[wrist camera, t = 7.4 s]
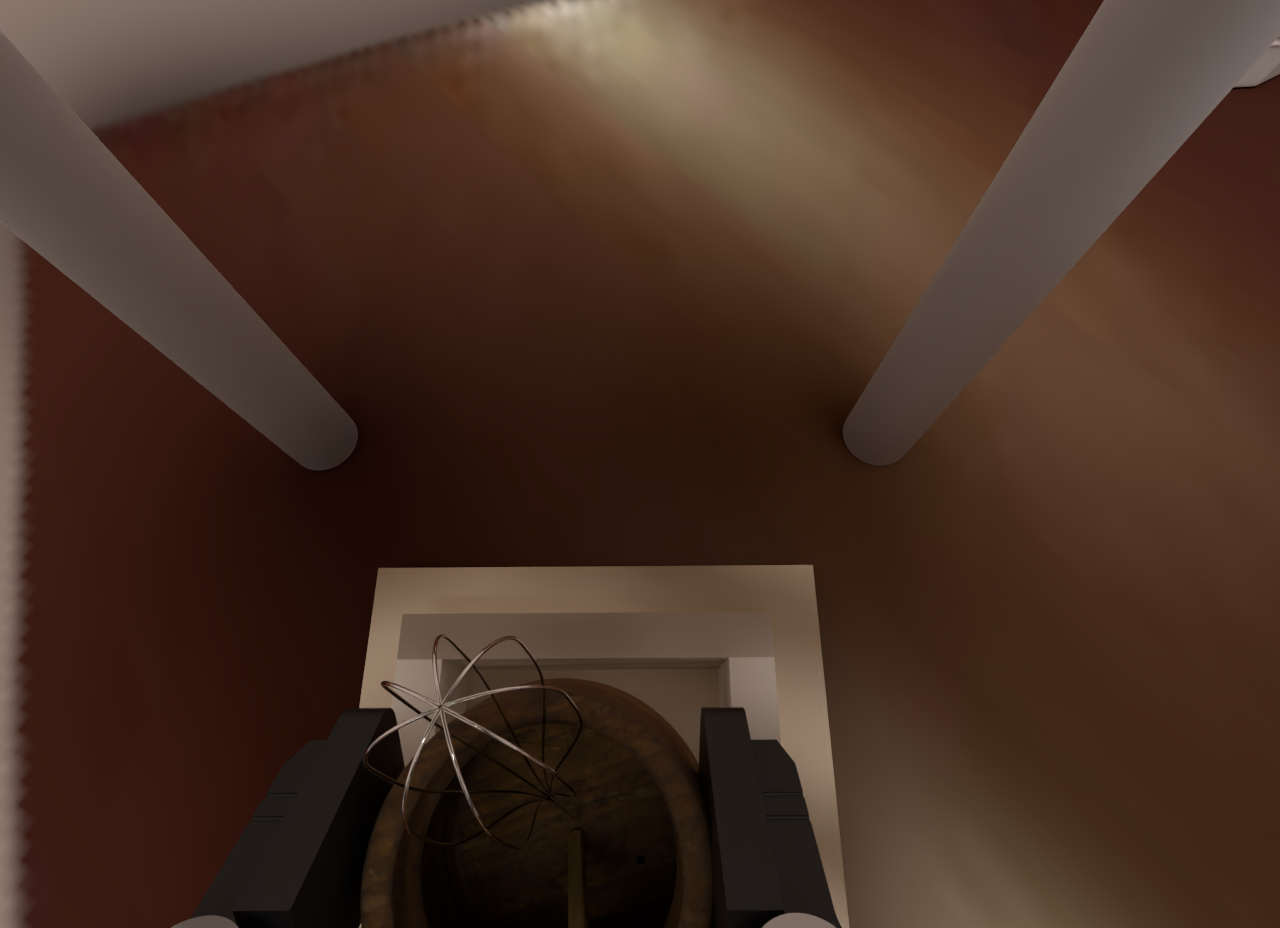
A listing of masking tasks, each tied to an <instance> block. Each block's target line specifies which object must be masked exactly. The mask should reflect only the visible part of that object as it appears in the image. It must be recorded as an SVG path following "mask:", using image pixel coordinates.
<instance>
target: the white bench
mask: <svg viewBox="0 0 1280 928" xmlns="http://www.w3.org/2000/svg"><path fill="white" fill-rule="evenodd" d="M1279 36H1280V0H1104V1H1103V3H1102V4H1101V6H1100V8H1099V9H1098V11H1097V13H1096V14H1095V16H1094V17H1093V19H1092V21H1091V22H1090V24H1089V26H1088V27H1087V29H1086V30H1085V32H1084V34H1083V35H1082V37H1081V39H1080V40H1079V42H1078V43H1077V45H1076V47H1075V48H1074V50H1073V52H1072V53H1071V55H1070V56H1069V58H1068V60H1067V61H1066V63H1065V65H1064V66H1063V68H1062V69H1061V71H1060V73H1059V74H1058V76H1057V78H1056V79H1055V81H1054V82H1053V84H1052V86H1051V87H1050V89H1049V91H1048V92H1047V94H1046V95H1045V97H1044V99H1043V100H1042V102H1041V104H1040V105H1039V107H1038V108H1037V110H1036V112H1035V113H1034V115H1033V117H1032V118H1031V120H1030V121H1029V123H1028V125H1027V126H1026V128H1025V130H1024V131H1023V133H1022V134H1021V136H1020V138H1019V139H1018V141H1017V143H1016V144H1015V146H1014V147H1013V149H1012V151H1011V152H1010V154H1009V156H1008V157H1007V159H1006V160H1005V162H1004V164H1003V165H1002V167H1001V169H1000V170H999V172H998V173H997V175H996V177H995V178H994V180H993V182H992V183H991V185H990V186H989V188H988V190H987V191H986V193H985V195H984V196H983V198H982V199H981V201H980V203H979V204H978V206H977V208H976V209H975V211H974V212H973V214H972V216H971V217H970V219H969V221H968V222H967V224H966V225H965V227H964V229H963V230H962V232H961V234H960V235H959V237H958V238H957V240H956V242H955V243H954V245H953V247H952V248H951V250H950V251H949V253H948V255H947V256H946V258H945V260H944V261H943V263H942V264H941V266H940V268H939V269H938V271H937V273H936V274H935V276H934V277H933V279H932V281H931V282H930V284H929V286H928V287H927V289H926V290H925V292H924V294H923V295H922V297H921V299H920V300H919V302H918V303H917V305H916V307H915V308H914V310H913V312H912V313H911V315H910V316H909V318H908V320H907V321H906V323H905V325H904V326H903V328H902V329H901V331H900V333H899V334H898V336H897V338H896V339H895V341H894V342H893V344H892V346H891V347H890V349H889V351H888V352H887V354H886V355H885V357H884V359H883V360H882V362H881V364H880V365H879V367H878V368H877V370H876V372H875V373H874V375H873V376H872V378H871V380H870V381H869V383H868V385H867V386H866V388H865V389H864V391H863V393H862V394H861V396H860V398H859V399H858V401H857V402H856V404H855V406H854V407H853V409H852V411H851V412H850V414H849V415H848V417H847V419H846V420H845V423H844V426H843V438H844V442H845V444H846V446H847V448H848V449H849V451H850V452H851V453H852V454H853V455H854V456H855V457H856V458H857V459H859V460H861V461H862V462H864V463H867V464H870V465H874V466H886V465H890V464H893V463H895V462H897V461H899V460H900V459H901V458H902V457H903V456H904V455H905V454H906V453H907V452H908V451H909V450H910V448H911V447H912V446H913V445H914V444H915V443H916V442H917V441H918V439H919V438H920V437H921V436H922V435H923V434H924V433H925V432H926V431H927V429H928V428H929V427H930V426H931V425H932V424H933V423H934V422H935V420H936V419H937V418H938V417H939V416H940V415H941V414H942V413H943V412H944V410H945V409H946V408H947V407H948V406H949V405H950V404H951V403H952V401H953V400H954V399H955V398H956V397H957V396H958V395H959V394H960V393H961V391H962V390H963V389H964V388H965V387H966V386H967V385H968V384H969V382H970V381H971V380H972V379H973V378H974V377H975V376H976V375H977V373H978V372H979V371H980V370H981V369H982V368H983V367H984V366H985V365H986V363H987V362H988V361H989V360H990V359H991V358H992V357H993V356H994V354H995V353H996V352H997V351H998V350H999V349H1000V348H1001V347H1002V346H1003V344H1004V343H1005V342H1006V341H1007V340H1008V339H1009V338H1010V337H1011V335H1012V334H1013V333H1014V332H1015V331H1016V330H1017V329H1018V328H1019V326H1020V325H1021V324H1022V323H1023V322H1024V321H1025V320H1026V319H1027V318H1028V316H1029V315H1030V314H1031V313H1032V312H1033V311H1034V310H1035V309H1036V307H1037V306H1038V305H1039V304H1040V303H1041V302H1042V301H1043V300H1044V299H1045V297H1046V296H1047V295H1048V294H1049V293H1050V292H1051V291H1052V290H1053V288H1054V287H1055V286H1056V285H1057V284H1058V283H1059V282H1060V281H1061V280H1062V278H1063V277H1064V276H1065V275H1066V274H1067V273H1068V272H1069V271H1070V269H1071V268H1072V267H1073V266H1074V265H1075V264H1076V263H1077V262H1078V260H1079V259H1080V258H1081V257H1082V256H1083V255H1084V254H1085V253H1086V252H1087V250H1088V249H1089V248H1090V247H1091V246H1092V245H1093V244H1094V243H1095V241H1096V240H1097V239H1098V238H1099V237H1100V236H1101V235H1102V234H1103V233H1104V231H1105V230H1106V229H1107V228H1108V227H1109V226H1110V225H1111V224H1112V222H1113V221H1114V220H1115V219H1116V218H1117V217H1118V216H1119V215H1120V213H1121V212H1122V211H1123V210H1124V209H1125V208H1126V207H1127V206H1128V205H1129V203H1130V202H1131V201H1132V200H1133V199H1134V198H1135V197H1136V196H1137V194H1138V193H1139V192H1140V191H1141V190H1142V189H1143V188H1144V187H1145V186H1146V184H1147V183H1148V182H1149V181H1150V180H1151V179H1152V178H1153V177H1154V175H1155V174H1156V173H1157V172H1158V171H1159V170H1160V169H1161V168H1162V167H1163V165H1164V164H1165V163H1166V162H1167V161H1168V160H1169V159H1170V158H1171V156H1172V155H1173V154H1174V153H1175V152H1176V151H1177V150H1178V149H1179V147H1180V146H1181V145H1182V144H1183V143H1184V142H1185V141H1186V140H1187V139H1188V137H1189V136H1190V135H1191V134H1192V133H1193V132H1194V131H1195V130H1196V128H1197V127H1198V126H1199V125H1200V124H1201V123H1202V122H1203V121H1204V120H1205V118H1206V117H1207V116H1208V115H1209V114H1210V113H1211V112H1212V111H1213V109H1214V108H1215V107H1216V106H1217V105H1218V104H1219V103H1220V102H1221V100H1222V99H1223V98H1224V97H1225V96H1226V95H1227V94H1228V93H1229V92H1230V90H1231V89H1232V88H1233V87H1234V86H1235V85H1236V84H1237V83H1238V81H1239V80H1240V79H1241V78H1242V77H1243V76H1244V75H1245V74H1246V73H1247V71H1248V70H1249V69H1250V68H1251V67H1252V66H1253V65H1254V64H1255V62H1256V61H1257V60H1258V59H1259V58H1260V57H1261V56H1262V55H1263V54H1264V52H1265V51H1266V50H1267V49H1268V48H1269V47H1270V46H1271V45H1272V43H1273V42H1274V41H1275V40H1276V39H1277V38H1278V37H1279ZM0 222H1V223H2V224H3V225H5V226H6V227H7V228H8V229H10V230H11V231H12V232H13V233H15V234H16V235H17V236H18V237H19V238H21V239H22V240H23V241H24V242H26V243H27V244H28V245H29V246H31V247H32V248H33V249H34V250H36V251H37V252H38V253H39V254H40V255H42V256H43V257H44V258H45V259H47V260H48V261H49V262H50V263H52V264H53V265H54V266H55V267H57V268H58V269H59V270H60V271H62V272H63V273H64V274H65V275H66V276H68V277H69V278H70V279H71V280H73V281H74V282H75V283H76V284H78V285H79V286H80V287H81V288H83V289H84V290H85V291H86V292H87V293H89V294H90V295H91V296H92V297H94V298H95V299H96V300H97V301H99V302H100V303H101V304H102V305H104V306H105V307H106V308H107V309H109V310H110V311H111V312H112V313H113V314H115V315H116V316H117V317H118V318H120V319H121V320H122V321H123V322H125V323H126V324H127V325H128V326H130V327H131V328H132V329H133V330H134V331H136V332H137V333H138V334H139V335H141V336H142V337H143V338H144V339H146V340H147V341H148V342H149V343H151V344H152V345H153V346H154V347H156V348H157V349H158V350H159V351H160V352H162V353H163V354H164V355H165V356H167V357H168V358H169V359H170V360H172V361H173V362H174V363H175V364H177V365H178V366H179V367H180V368H181V369H183V370H184V371H185V372H186V373H188V374H189V375H190V376H191V377H193V378H194V379H195V380H196V381H198V382H199V383H200V384H201V385H203V386H204V387H205V388H206V389H207V390H209V391H210V392H211V393H212V394H214V395H215V396H216V397H217V398H219V399H220V400H221V401H222V402H224V403H225V404H226V405H227V406H228V407H230V408H231V409H232V410H233V411H235V412H236V413H237V414H238V415H240V416H241V417H242V418H243V419H245V420H246V421H247V422H248V423H250V424H251V425H252V426H253V427H254V428H256V429H257V430H258V431H259V432H261V433H262V434H263V435H264V436H266V437H267V438H268V439H269V440H271V441H272V442H273V443H274V444H275V445H277V446H278V447H279V448H280V449H282V450H283V451H284V452H285V453H287V454H288V455H289V456H290V457H292V458H293V459H294V460H295V461H296V462H298V463H299V464H300V465H302V466H303V467H305V468H307V469H311V470H327V469H331V468H334V467H336V466H338V465H340V464H341V463H343V462H344V461H345V460H346V459H347V458H348V457H349V456H350V455H351V454H352V452H353V451H354V449H355V446H356V444H357V440H358V431H357V427H356V424H355V423H354V421H353V420H352V419H351V417H350V416H349V415H348V414H347V413H346V412H345V411H344V410H343V409H342V408H341V406H340V405H339V404H338V403H337V402H336V401H335V400H334V399H333V398H332V396H331V395H330V394H329V393H328V392H327V391H326V390H325V389H324V388H323V387H322V385H321V384H320V383H319V382H318V381H317V380H316V379H315V378H314V377H313V375H312V374H311V373H310V372H309V371H308V370H307V369H306V368H305V367H304V366H303V364H302V363H301V362H300V361H299V360H298V359H297V358H296V357H295V356H294V354H293V353H292V352H291V351H290V350H289V349H288V348H287V347H286V346H285V345H284V343H283V342H282V341H281V340H280V339H279V338H278V337H277V336H276V335H275V333H274V332H273V331H272V330H271V329H270V328H269V327H268V326H267V325H266V324H265V322H264V321H263V320H262V319H261V318H260V317H259V316H258V315H257V314H256V312H255V311H254V310H253V309H252V308H251V307H250V306H249V305H248V304H247V303H246V301H245V300H244V299H243V298H242V297H241V296H240V295H239V294H238V293H237V291H236V290H235V289H234V288H233V287H232V286H231V285H230V284H229V283H228V282H227V280H226V279H225V278H224V277H223V276H222V275H221V274H220V273H219V272H218V270H217V269H216V268H215V267H214V266H213V265H212V264H211V263H210V262H209V261H208V259H207V258H206V257H205V256H204V255H203V254H202V253H201V252H200V251H199V250H198V248H197V247H196V246H195V245H194V244H193V243H192V242H191V241H190V240H189V238H188V237H187V236H186V235H185V234H184V233H183V232H182V231H181V230H180V229H179V227H178V226H177V225H176V224H175V223H174V222H173V221H172V220H171V219H170V217H169V216H168V215H167V214H166V213H165V212H164V211H163V210H162V209H161V208H160V206H159V205H158V204H157V203H156V202H155V201H154V200H153V199H152V198H151V196H150V195H149V194H148V193H147V192H146V191H145V190H144V189H143V188H142V187H141V185H140V184H139V183H138V182H137V181H136V180H135V179H134V178H133V177H132V175H131V174H130V173H129V172H128V171H127V170H126V169H125V168H124V167H123V166H122V164H121V163H120V162H119V161H118V160H117V159H116V158H115V157H114V156H113V154H112V153H111V152H110V151H109V150H108V149H107V148H106V147H105V146H104V145H103V143H102V142H101V141H100V140H99V139H98V138H97V137H96V136H95V135H94V133H93V132H92V131H91V130H90V129H89V128H88V127H87V126H86V125H85V124H84V122H83V121H82V120H81V119H80V118H79V117H78V116H77V115H76V114H75V112H74V111H73V110H72V109H71V108H70V107H69V106H68V105H67V104H66V103H65V101H64V100H63V99H62V98H61V97H60V96H59V95H58V94H57V93H56V91H55V90H54V89H53V88H52V87H51V86H50V85H49V84H48V83H47V82H46V80H45V79H44V78H43V77H42V76H41V75H40V74H39V73H38V72H37V71H36V70H35V68H34V67H33V66H32V65H31V64H30V63H29V62H28V61H27V60H26V58H25V57H24V56H23V55H22V54H21V53H20V52H19V51H18V49H17V48H16V47H15V46H14V45H13V44H12V43H11V42H10V41H9V40H8V38H7V37H6V36H5V35H4V34H3V33H2V32H1V31H0Z"/></svg>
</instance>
